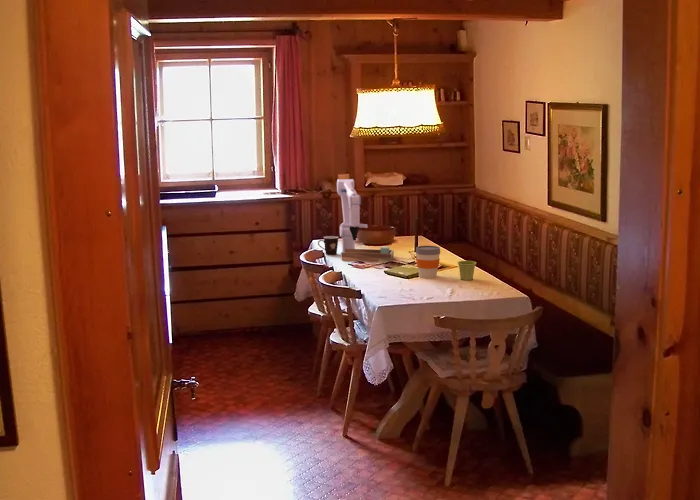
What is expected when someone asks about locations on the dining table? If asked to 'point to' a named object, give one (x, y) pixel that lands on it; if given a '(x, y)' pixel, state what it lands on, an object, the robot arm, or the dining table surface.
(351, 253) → the trap tray
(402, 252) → the dining table surface
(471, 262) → the plant pot
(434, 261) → the reusable coffee cup
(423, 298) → the dining table surface
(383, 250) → the teal block
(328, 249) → the coffee mug
